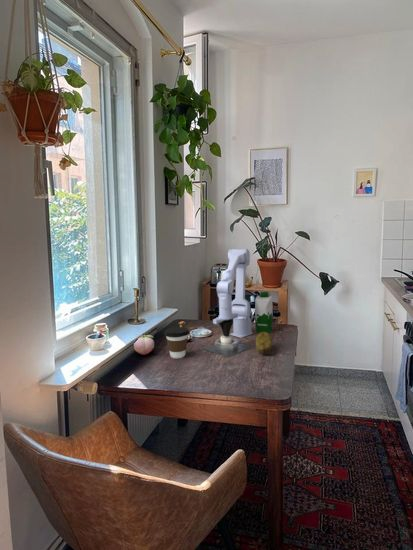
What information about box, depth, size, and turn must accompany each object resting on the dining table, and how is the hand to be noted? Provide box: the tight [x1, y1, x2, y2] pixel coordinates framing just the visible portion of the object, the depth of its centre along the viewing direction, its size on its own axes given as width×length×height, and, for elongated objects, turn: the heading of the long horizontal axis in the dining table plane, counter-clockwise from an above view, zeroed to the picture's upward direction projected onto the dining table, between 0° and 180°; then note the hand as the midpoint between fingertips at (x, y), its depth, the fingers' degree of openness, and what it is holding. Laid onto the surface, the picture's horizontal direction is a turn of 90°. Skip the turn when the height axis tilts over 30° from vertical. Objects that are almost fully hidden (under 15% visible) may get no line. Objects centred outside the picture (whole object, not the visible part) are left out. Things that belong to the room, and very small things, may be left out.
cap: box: [220, 334, 232, 344], centre depth 188 cm, size 5×5×5 cm
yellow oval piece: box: [255, 332, 273, 355], centre depth 183 cm, size 8×13×8 cm, turn 159°
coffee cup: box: [164, 326, 190, 359], centre depth 181 cm, size 11×11×12 cm
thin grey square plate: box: [201, 337, 252, 358], centre depth 188 cm, size 16×16×4 cm
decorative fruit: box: [133, 333, 155, 356], centre depth 184 cm, size 9×8×10 cm
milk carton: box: [254, 291, 274, 334], centre depth 212 cm, size 9×9×20 cm
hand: (226, 335), depth 188 cm, fingers closed
